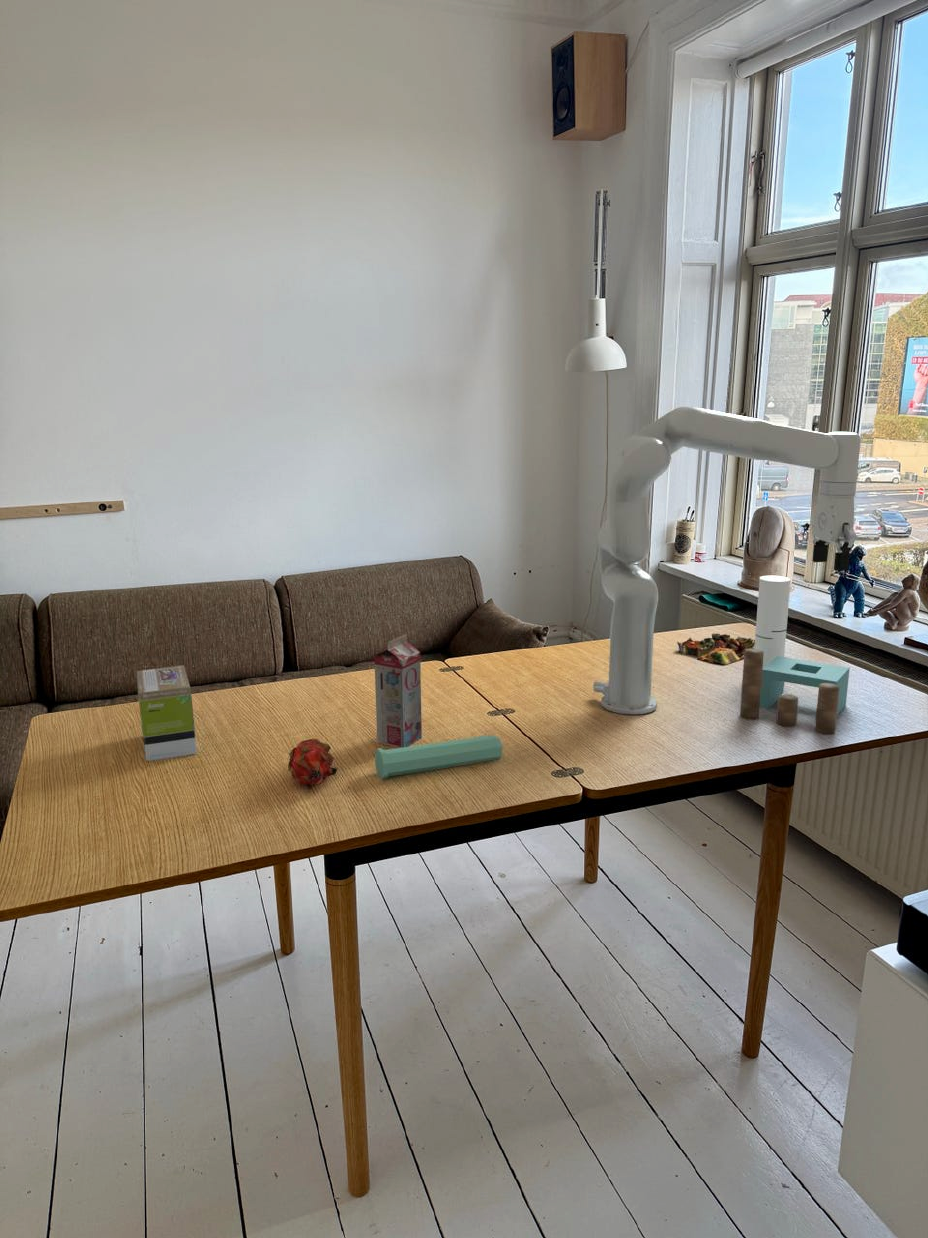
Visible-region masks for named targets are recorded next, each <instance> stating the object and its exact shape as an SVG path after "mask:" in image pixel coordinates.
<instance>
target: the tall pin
mask: <svg viewBox="0 0 928 1238" xmlns="http://www.w3.org/2000/svg"><path fill="white" fill-rule="evenodd" d="M763 657H764V651H762V650H760V649H754V648H751V649H745V651H744V658H743V665H742V666H743V667H742V678H741V679H742V683H741V692H740V693H741V695H740V696H741V697H740V705H739V706H740V709H739V717H740V718H742V719H743V720H748V721H752V720H753V721H755V720H758V719H759V718H760V695H761V683H762V670H763Z"/></svg>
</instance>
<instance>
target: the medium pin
mask: <svg viewBox="0 0 928 1238" xmlns="http://www.w3.org/2000/svg"><path fill="white" fill-rule="evenodd" d="M839 689H840V687H839V686H838V685H835V684H830V683H822V684H819V688H818V691H817V692H818V693H817V705H816V712H815V723H814V732H816V733H817V734H821V735H824V736H830V735H831V736H832V735H835V734H836V727H837V717H838V716H837V708H838V699H839Z"/></svg>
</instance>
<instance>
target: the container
mask: <svg viewBox="0 0 928 1238" xmlns="http://www.w3.org/2000/svg"><path fill="white" fill-rule="evenodd" d="M502 755H503V744H502V741H501V739H500V738H499V737H498V736H496V735H493V734H489V735H481V736H475V737H468V738H467V737H466V738H461V739H453V740H447V741H441V742H440V741H439V742H432V743H431V742H430V743H425V744H419V745H409V746H408V747H403V748H399V747H395V748H390V749H383V748H382V747H380V748H377V749H376V751H375V754H374V759H375V761H374V762H375V763H374V765H375V769H376V775H378V777H379V778H380V780H386V779H387V778H388V777H394V776H395V777H396V776H400V775H401V776H402V775H407V774H414V773H421V772H427V771H435V770H440V769H441V770H442V769H447V768H452V767H457V766H459V767H460V766H465V765H471V764H476V763H484V762H490V761H491V762H492V761H495V760H498V759H499V758H500V757H502Z"/></svg>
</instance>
